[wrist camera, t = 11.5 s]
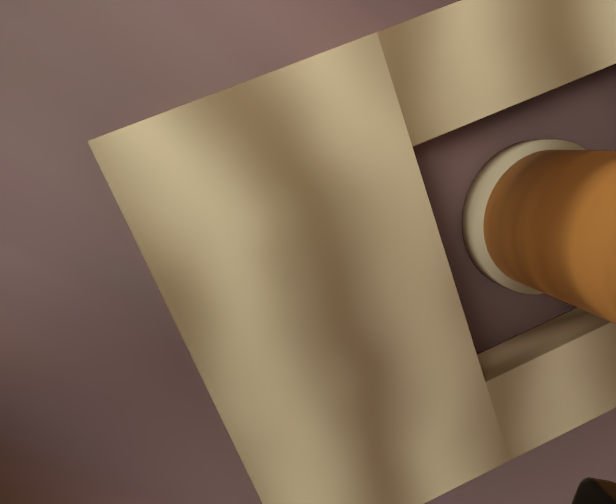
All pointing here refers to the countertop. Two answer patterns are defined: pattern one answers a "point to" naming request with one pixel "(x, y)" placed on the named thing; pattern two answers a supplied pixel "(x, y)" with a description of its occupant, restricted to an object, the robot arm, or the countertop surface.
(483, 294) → the countertop surface
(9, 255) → the countertop surface
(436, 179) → the countertop surface
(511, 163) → the cord reel
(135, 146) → the rectangular frame
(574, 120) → the countertop surface
